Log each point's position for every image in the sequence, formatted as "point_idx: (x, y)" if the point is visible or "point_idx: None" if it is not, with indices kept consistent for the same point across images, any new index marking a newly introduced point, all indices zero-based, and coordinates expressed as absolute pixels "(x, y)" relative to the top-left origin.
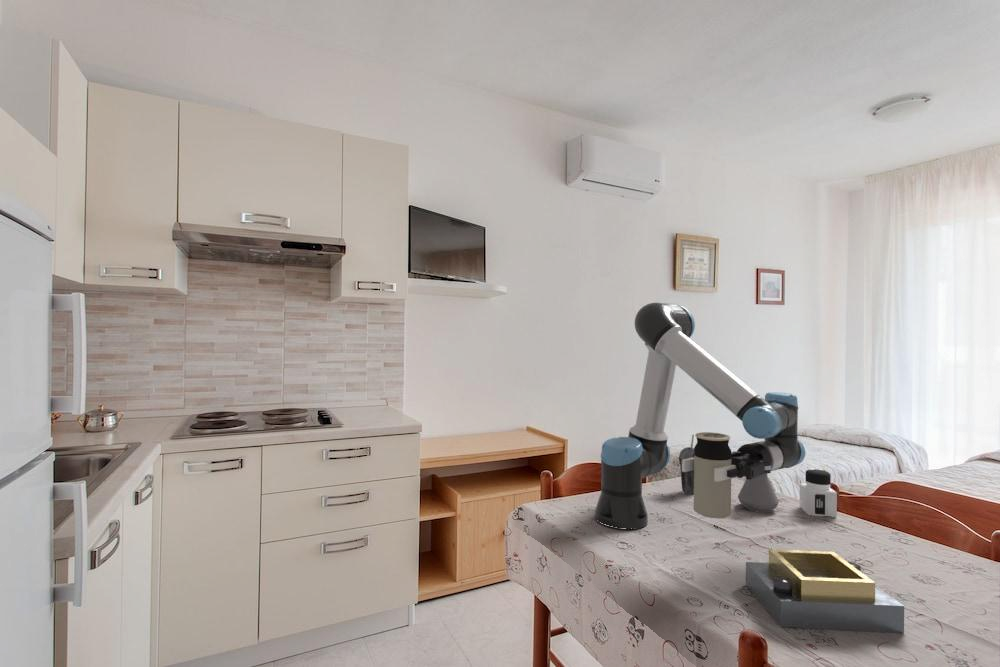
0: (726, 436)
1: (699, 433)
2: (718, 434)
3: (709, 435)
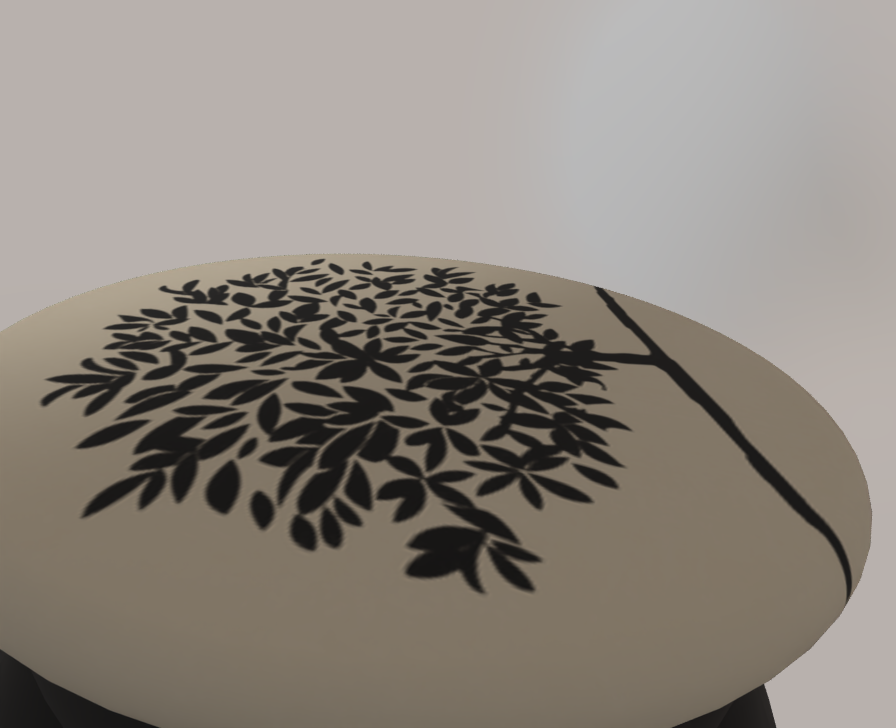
0: (44, 395)
1: (715, 355)
2: (348, 469)
3: (453, 327)
